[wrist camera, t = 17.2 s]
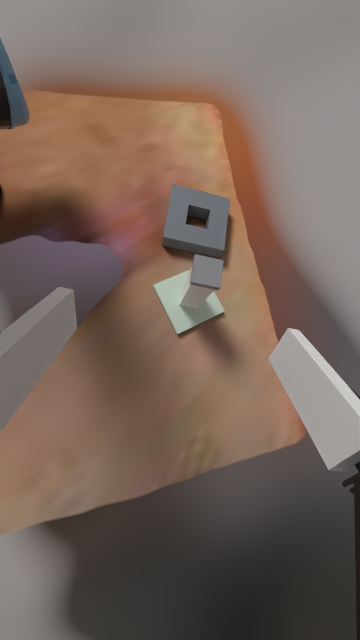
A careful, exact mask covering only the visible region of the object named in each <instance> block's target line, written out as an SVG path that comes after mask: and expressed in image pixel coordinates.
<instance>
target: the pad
mask: <svg viewBox="0 0 360 640" xmlns="http://www.w3.org/2000/svg"><path fill="white" fill-rule="evenodd" d="M189 272H190V270H188V271H186V272H183V273H181V274H178V275H176V276H174V277H171V278H169V279H166V280H164V281H161V282H159V283H157V284H154V285H153V287H154V289H155V291H156V293H157V295H158V297H159V299H160V301H161V304H162V306H163V308H164V310H165V312H166V314H167V316H168V318H169V320H170V322H171V324H172V326H173V328H174V330H175V332H176V334H179V333H181V332H183V331H186V330H188V329H190V328H192V327H194V326H196V325H198V324H200V323H202V322H204V321H206V320H208V319H210V318H212V317H214V316H216V315H218V314H220V313H222V312H224V309H223V307H222V305H221V303H220V302H219V300H218V298H217V296H216V294H215V292H214V291H213V292H212V293H211V294H210V295H209V296H208V298H207V299H206V300H205V301H204V302H203V303H202V304H201V305H200V306H199V307H198V308H191V307H186V306H181V305H179V303H180V297H181V291H182V287H183V285H184V283H185V281H186V278H187V276H188V274H189Z"/></svg>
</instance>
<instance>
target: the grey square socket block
mask: <svg viewBox="0 0 360 640" xmlns="http://www.w3.org/2000/svg"><path fill="white" fill-rule="evenodd" d="M229 202H230V199H229V198H225V197H221V196H217V195H213V194H209V193H206V192H202V191H198V190H194V189H190V188H186V187H182V186H178V185H175V184H173V186H172V192H171V197H170V203H169V208H168V214H167V219H166V225H165V230H164V235H163V244H162V246H165V247H170V248H175V249H179V250H184V251H188V252H193V253H198V254H202V255H207V256H211V257H216V258H220V256H221V255H222V253H223V252H224V250H225V240H226V231H227V221H228V212H229ZM187 216H191V217H195V218H199V219H203V220H206V225H205V228H201V227H196V226H192V225H188V224H186V219H187Z"/></svg>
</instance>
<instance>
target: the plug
mask: <svg viewBox="0 0 360 640" xmlns="http://www.w3.org/2000/svg"><path fill="white" fill-rule="evenodd" d="M223 262H224V260H219V259H215V258H210V257H206V256H202V255H197V254H195V255H194V259H193V265H192V268H191V270H190V272H189V274H188V276H187V278H186V281H185V283H184V285H183V287H182V291H181V297H180V303H179V305H181V306H186V307H191V308H198V307H199V306H200V305H201V304H202V303H203V302H204V301H205V300H206V299H207V298H208V296H209V295H210V294H211V293H212V292H213V291H214V290H219V289H220V288H221V279H222V271H223Z"/></svg>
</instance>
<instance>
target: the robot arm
mask: <svg viewBox="0 0 360 640" xmlns="http://www.w3.org/2000/svg"><path fill="white" fill-rule="evenodd" d="M29 117H30V116H29V110H28V107H27V104H26V101H25V98H24V96H23V93H22V90H21V88H20V86H19V83H18V81H17V79H16V77H15V73H14V71H13V68H12V65H11V63H10V60H9V58H8V55H7V53H6V50H5V48H4V46H3V44H2V41H1V39H0V129H13V128H14V127H16V126H21V125H25V124H27V123H28V121H29ZM75 311H76V310H75V300H74V290H73V289H68V288H63V287H58V288H57V289H56V290H54V291H53V292H52V293H50V294H49V295H48V296H47V297H45V298H44V299H43V300H42V301H40V302H39V303H38V304H37V305H35V306H34V307H33V308H31V309H30V310H29V311H28V312H26V313H25V314H24V315H23V316H21V317H20V318H19V319H17V320H16V321H15V322H14V323H12V324H11V325H10V326H9V327H7V328H6V329H5V330H4V331H2V332H0V432H1V431H2V429H3V428H4V427H5V425H6V424H7V423H8V421H9V420H10V418H11V417H12V416H13V414H14V413H15V412H16V410H17V409H18V408H19V406H20V405H21V404H22V402H23V401H24V400H25V398H26V397H27V396H28V394H29V393H30V392H31V390H32V389H33V388H34V386H35V385H36V384H37V382H38V381H39V379H40V378H41V377H42V375H43V374H44V373H45V371H46V370H47V369H48V367H49V366H50V365H51V363H52V362H53V361H54V359H55V358H56V357H57V355H58V354H59V353H60V351H61V350H62V349H63V347H64V346H65V344H66V343H67V342H68V340H69V339H70V338H71V336H72V335H73V334H74V332H75V331H76V330H77V321H76V312H75ZM269 361H270V363H271V364H272V366H273V368H274V370H275V372H276V374H277V375H278V377H279V379H280V381H281V383H282V385H283V387H284V388H285V390H286V392H287V394H288V396H289V398H290V399H291V401H292V403H293V405H294V407H295V409H296V411H297V412H298V414H299V416H300V418H301V420H302V422H303V423H304V425H305V427H306V429H307V431H308V433H309V434H310V436H311V438H312V440H313V442H314V444H315V446H316V447H317V449H318V451H319V453H320V455H321V456H322V459H323V460H324V462H325V464H326V466H327V468H328V469H329V470H335V471H346V470H348V469H349V468H351V467H353V466H354V465H355V466H356V468H357V470H358V471H359V473H357V474H355V475H354V476H352V477H350V478H348V479H346V480H345V481H343V484H342V485H343V486H344V487H346V486H348V485H350V484H354V487H353V488H351V489H350V490H349V491H350V492H352V493H353V494H354V498H355V499H354V502H355V556H356V557H355V558H356V608H357V609H356V613H357V640H360V397H359V396H358V395H357V393H356V392H355V391H354V390H352V389H351V388H350V387H349V386H348V385H346V383H345V382H344V381H343V380H342V379H341V378H340V377H339V375H338V374H337V373H336V372H335V371H334V370H333V369H332V367H331V366H330V365H329V364H328V363H327V362H326V360H325V359H324V358H323V357H322V356H321V355H320V354H319V353H318V351H317V350H316V349H315V348H314V347H313V346H312V344H311V343H310V342H309V341H308V340H307V339H306V338H305V337H304V335H303V334H302V333H301V332H300V331H299V330H295V329H290V328H288V329H287V331H286V332H285V334H284V335H283V337H282V339H281V340H280V342H279V343H278V345H277V346H276V348H275V349H274V351H273V353H272V354H271V356H270V357H269Z"/></svg>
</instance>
